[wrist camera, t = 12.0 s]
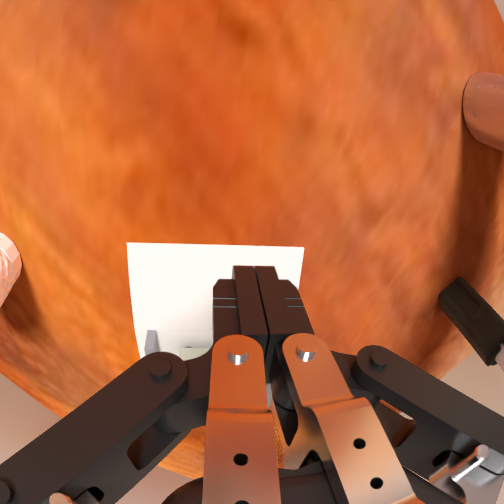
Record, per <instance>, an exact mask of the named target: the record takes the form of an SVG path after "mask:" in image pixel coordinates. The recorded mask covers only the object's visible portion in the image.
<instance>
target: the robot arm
mask: <svg viewBox="0 0 504 504" xmlns="http://www.w3.org/2000/svg"><path fill="white" fill-rule="evenodd" d="M463 113H464V118H465V122H466V125H467V128H468V129H469V131H470V133H471V135H472V136H473V137H474V138H475V139H476V140H477V141H478V142H481V143H483V144H486V145H489V146H491V147H494V148H496V149H499V150H501V151H503V152H504V75H502V74H495V73H487V72H478V73H476V74H474V75H473V76H472V77H471V78H470V79H469V81H468V82H467V85H466V87H465V91H464V96H463ZM303 306H304V305H303V302H302V300H301V297H300V294H299V292H298V289H297V287H296V286H295V285H294V284H292V283H291V282H290V281H289V280H288V279H279V278H278V275H277V272H276V269H275V266H254V267H253V266H243V265H233V268H232V279H218V281H217V282H216V284H215V285H214V286H213V306H212V330H213V345H212V347H211V348H210V349H209V350H208V351H207V352H206V353H205V354H203V355H201V356H199V357H197V358H193V359H189V360H185V361H183V360H182V359H181V358H180V357H179V356H177V355H175V354H173V353H169V352H153V353H150V354H148V355H146V356H144V357H143V358H141V359H140V360H139V361H137V362H136V363H135V364H133V365H132V366H131V367H130V368H128V369H127V370H126V371H124V372H123V373H122V374H120V375H119V376H118V377H117V378H115V379H114V380H113V381H111V382H110V383H109V384H107V385H106V386H105V387H104V388H102V389H101V390H100V391H98V392H97V393H96V394H94V395H93V396H92V397H90V398H89V399H88V400H86V401H85V402H84V403H82V404H81V405H80V406H79V407H77V408H76V409H75V410H73V411H72V412H71V413H69V414H68V415H67V416H65V417H64V418H63V419H61V420H60V421H59V422H57V423H56V424H55V425H53V426H52V427H51V428H49V429H48V430H47V431H45V432H44V433H43V434H41V435H40V436H39V437H37V438H36V439H35V440H33V441H32V442H30V443H29V444H28V445H26V446H25V447H24V448H22V449H21V450H20V451H18V452H17V453H15V454H14V455H13V456H11V457H10V458H9V459H7V460H6V461H5V462H3V463H2V464H1V465H0V504H115V503H116V502H117V501H118V500H119V499H120V498H122V497H123V496H124V495H125V494H126V493H127V492H128V491H129V490H131V489H132V488H133V487H134V486H135V485H136V484H137V483H138V482H139V481H140V480H142V479H143V478H144V477H145V476H146V475H147V474H148V473H149V472H150V471H151V470H152V469H153V468H154V467H155V466H156V465H157V464H158V463H159V462H160V461H162V460H163V459H164V458H165V457H166V456H167V455H168V454H169V453H170V452H171V451H172V450H173V449H174V448H175V447H176V446H177V445H178V444H179V443H180V442H181V441H182V440H183V439H184V438H185V437H186V436H187V435H188V434H189V432H190V431H191V429H193V428H197V427H200V426H204V425H206V435H205V453H204V474H203V477H201V478H198V479H195V480H193V481H190V482H188V483H186V484H184V485H183V486H181V487H179V488H178V489H176V490H175V491H174V492H173V493H171V494H170V495H169V496H168V497H167V498H166V499H165V500H164V502H163V503H162V504H495V503H496V501H497V498H498V495H499V492H500V489H501V487H502V483H503V480H504V417H503V416H501V415H499V414H497V413H496V412H494V411H492V410H491V409H489V408H487V407H485V406H483V405H482V404H480V403H478V402H477V401H474V400H473V399H471V398H470V397H468V396H466V395H465V394H463V393H461V392H459V391H458V390H456V389H454V388H452V387H451V386H449V385H447V384H446V383H444V382H442V381H440V380H439V379H437V378H435V377H434V376H432V375H430V374H429V373H427V372H425V371H423V370H422V369H420V368H418V367H417V366H415V365H413V364H412V363H410V362H408V361H407V360H405V359H403V358H401V357H400V356H398V355H396V354H395V353H393V352H391V351H390V350H388V349H386V348H384V347H381V346H376V345H370V346H366V347H364V348H362V349H361V350H360V351H359V352H358V354H357V356H354V355H348V354H342V353H337V352H334V351H331V350H330V349H329V347H328V345H327V344H326V343H325V342H324V341H323V340H322V339H321V338H319V337H317V336H315V334H314V332H313V329H312V326H311V324H310V321H309V318H308V316H307V313H306V310H305V308H304V307H303ZM266 384H270V385H271V391H272V393H271V397H270V406H271V409H272V412H271V411H270V410H268V404H267V392H266ZM381 399H383V400H384V401H386V402H387V403H389V404H390V405H392V406H394V407H395V408H397V409H399V410H400V411H402V412H404V413H405V414H407V415H408V416H410V417H412V418H413V420H409V419H406V418H404V417H403V416H401V415H400V414H398V413H396V412H395V411H393V410H391V409H390V408H388V407H387V406H385V405H384V404H382V403H380V400H381ZM272 413H273V415H272ZM273 417H274V420H275V424H276V427H277V431H278V434H279V438H280V441H281V445H282V448H283V455H284V458H283V465H284V469H282V468H278V463H277V452H276V441H275V430H274V420H273ZM402 465H403V466H402ZM404 466H405V467H406V468H405V467H404ZM407 468H408V469H410V470H411V471H413V472H415V473H417V474H418V475H420V476H422V477H424V478H425V479H427V480H429V482H427V481H426V480H424V479H423V478H421V477H419V476H418V475H416V474H415V473H413V472H411V471H410V470H408V469H407Z"/></svg>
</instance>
